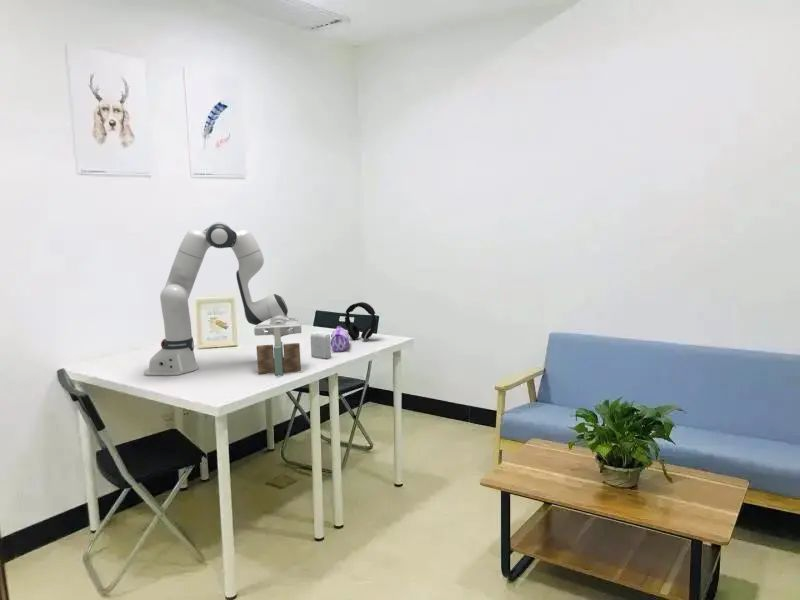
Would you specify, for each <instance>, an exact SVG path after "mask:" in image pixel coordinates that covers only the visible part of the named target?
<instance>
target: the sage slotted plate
mask: <svg viewBox="0 0 800 600" xmlns="http://www.w3.org/2000/svg"><path fill="white" fill-rule="evenodd" d="M273 338H274V344H273V353H274V363H275V373H274V375H275V377H279V376H278V375H282V376H283V375H284V373H283V365H282V358H284V348H283V341H282V337H281V332H280V326H274V337H273Z"/></svg>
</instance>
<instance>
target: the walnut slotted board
mask: <svg viewBox="0 0 800 600" xmlns="http://www.w3.org/2000/svg"><path fill="white" fill-rule="evenodd" d="M282 345H283V358H282V365H283V372H285V373H297V372H298V371H301V372H302V365H301V364H302V363H301V348H300V343H299V342H296V343H295V342H294V343H293V342H292V343H282ZM256 359H257V360H256V362H257V363H256V364H257V374H258V375H266V374H268V373H269V374H275V363H274V344H261V345H258V344H257V345H256ZM298 373H299V372H298ZM269 374H268V375H269Z"/></svg>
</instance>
